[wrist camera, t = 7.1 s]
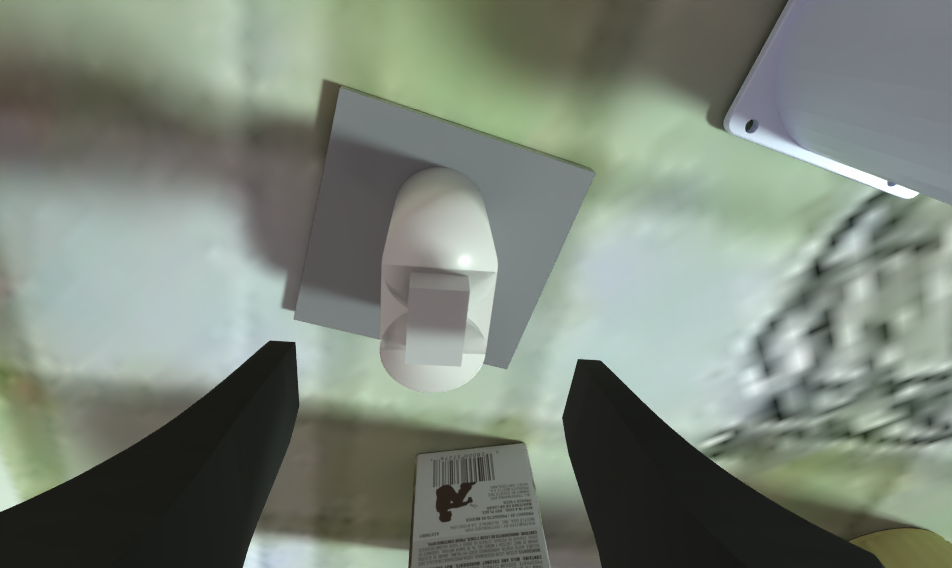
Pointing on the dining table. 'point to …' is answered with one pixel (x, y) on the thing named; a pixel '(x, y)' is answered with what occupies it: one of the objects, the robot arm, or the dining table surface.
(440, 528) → the brown food box
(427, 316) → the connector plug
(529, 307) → the slate coaster
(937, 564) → the potted cactus
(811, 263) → the dining table surface
